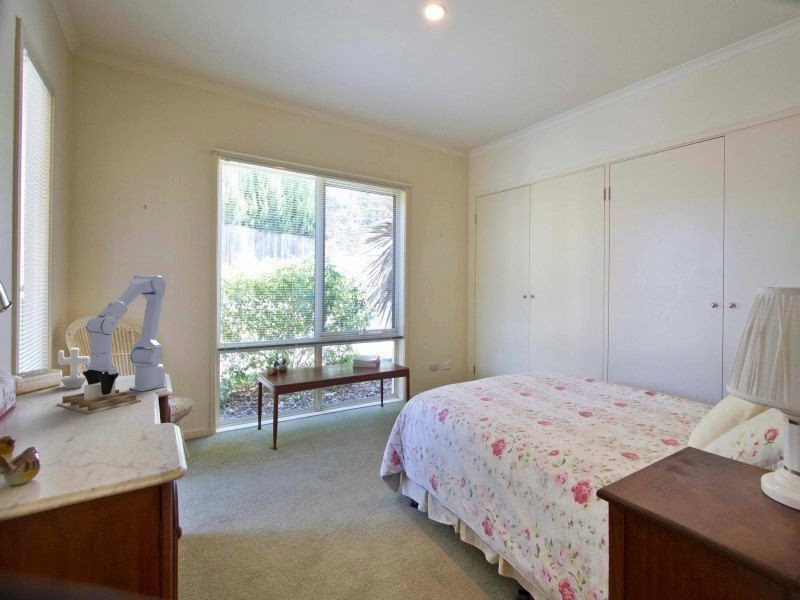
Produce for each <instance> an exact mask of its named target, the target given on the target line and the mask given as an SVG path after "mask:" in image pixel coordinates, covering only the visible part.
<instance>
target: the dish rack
mask: <svg viewBox="0 0 800 600" xmlns="http://www.w3.org/2000/svg"><path fill="white" fill-rule="evenodd" d="M61 399H62V401H58V402H57V403H56V405H57V406H61V407H64V408H66V409H69V410H73V411H76V412H79V413H82V414H87V415H90V414H94V413H97V412H103V411H106V410H110V409H114V408H120V407H123V406H128V405H132V404H134V403H140V402H142V399H140V398H137V393H131V394H129V391H123V392H120V389H115V394H112V395H107V396H103V397H98V398H93V399H88V400H84V392H79V393H75V394H70V395H64V396H62V398H61Z"/></svg>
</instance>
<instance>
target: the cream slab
mask: <svg viewBox="0 0 800 600" xmlns="http://www.w3.org/2000/svg"><path fill="white" fill-rule="evenodd" d="M83 387H84V388H83V389H84V390H83V393H84V400H88V399H93V398H98V397H103V396H107V395H112V394H115V390H116V381H115V382H114V384H113V387H112V390H111V393H110V394H107V395H103V394H102V390H101V383H96V384H91V385H88V384H85V385H83Z"/></svg>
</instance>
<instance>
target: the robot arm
mask: <svg viewBox="0 0 800 600" xmlns="http://www.w3.org/2000/svg"><path fill="white" fill-rule="evenodd" d="M166 285H167V282H166V281H165V279H164V277H163V276H162V275H160V274H156V275H155V274H153V275H152V274H150V275H149V274H138V273H137V274H134V275H133V277H132V278H131V279H130V280H129V286H128V287H127V288H126V289H125V290H124V292H123V293H122V294H121V296H120V297H119V298H118V299H117V300H111V301H109V302H108V303H107V306H106V307H104V309H102V311H101V312H99V313H98V315H97V316H94V317H91V318H90V319H89V320H87V323H86V325H85V330H86V332H87V334H88V338H89V340H90V341H89V342H90V345H89V347H90V349H89V357H90V363H86V366H85V365H84V370H83V371H82V375H84V376H85V378H86V380H85V381H86V382H87V385H91V384H96V383H101V390H102V394H103V395H107V394H110V393H111V390H112V387H113V384H114V382H115V383H116V380H117V378H118V376H119V375H120V373H119V372H117V367H116V366H114V365H113V364H112V355H113V354H112V352H113V351H112V347H113V346H112V344H113V340H112V339H113V334H114V333H115V332H116V330H117V327H118V324H119V321H120V320H121V319H122V318H123V317H124V316H125V314H126V313H127V312H128V306H129V305H130V304H131V303H132V302H134V300H135V299H137V298H138V297H139V296H140V295H141V296H142V297H144V298H145V300H146V304H145V311H144V316H143V321H142V322H143V323H142V327H141V333H140V339H139V340H138V341H136V342H135V343H134V344H133V346H132V349H131V351H130V354H129V360H130V362H131V363H132V366H134V385H133V386H129V390H133V391H134V390H135V391H137V392H144V391H149V390H154V389H155V390H156V389H160V388H163V387H166V386H167V385H166V384H165V372H166V371H165V370H166V369H165V367H164V365H163V364H162V363H161V362H162V360H163V358H164V357H163V356H164V354H163V346H162V344H161V343H160V342H158V341H157V339H158V333H159V329H160V321H161V316H162V310H163V303H164V297H165V292H166V287H167V286H166ZM85 369H87V370H85Z"/></svg>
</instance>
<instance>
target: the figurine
mask: <svg viewBox="0 0 800 600" xmlns="http://www.w3.org/2000/svg"><path fill="white" fill-rule="evenodd" d="M69 354H70V355H69V356H65V351H64V350H63V349H62V350H61V349H60V350H58V351H57V362H58V365H61V366H64V365H66V366H67V365H69V368H70V369H69V375H65V376H61V380H60V381H61V382H62V384H63V386H64V387H65V389H66V390H68V389H69V390H71V389H79V388H82V387H83V386H84V383H85V381H87V380H86V378H85V376H84V375H83V374H79V365H81V364H84V367H85V366H86V363H90V355H89V356H88V355H83V356H82V355H81V356H79V354H80V348H79V347H71V348H69ZM84 371H87V369H85V368H84Z"/></svg>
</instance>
